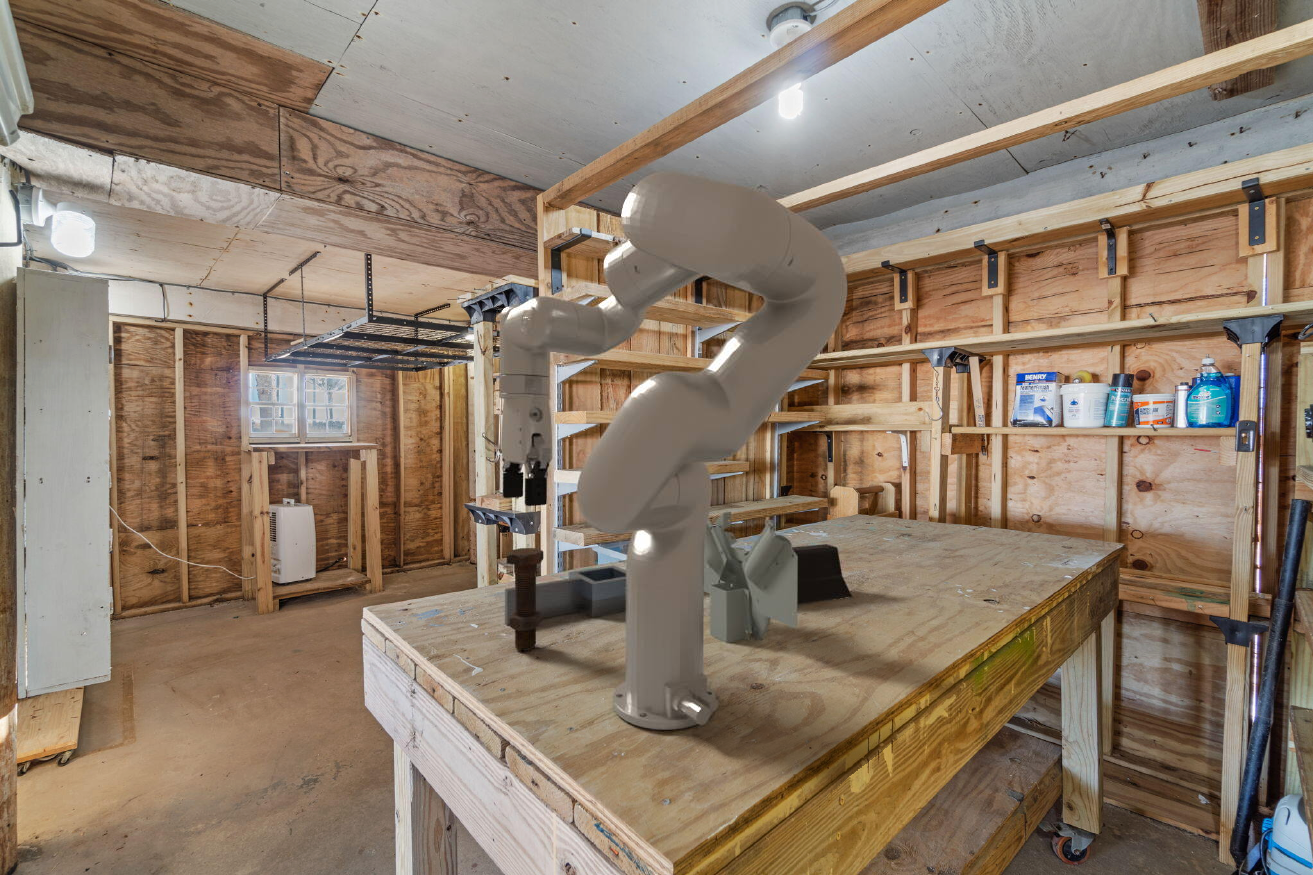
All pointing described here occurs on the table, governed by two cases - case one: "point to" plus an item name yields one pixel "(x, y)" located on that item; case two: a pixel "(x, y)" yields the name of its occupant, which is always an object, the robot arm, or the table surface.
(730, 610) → the bracket
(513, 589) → the grey square socket holder
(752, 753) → the table surface
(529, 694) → the table surface
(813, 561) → the barrier
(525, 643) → the bolt
